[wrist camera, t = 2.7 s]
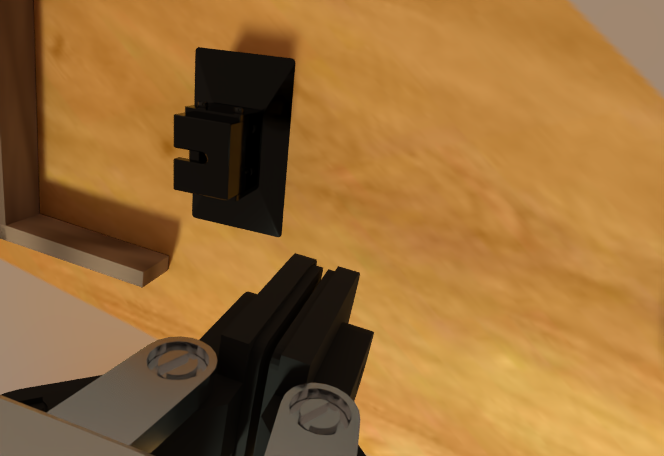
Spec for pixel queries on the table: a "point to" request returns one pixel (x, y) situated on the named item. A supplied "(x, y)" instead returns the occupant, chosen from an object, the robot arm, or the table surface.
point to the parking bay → (22, 169)
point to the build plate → (237, 139)
